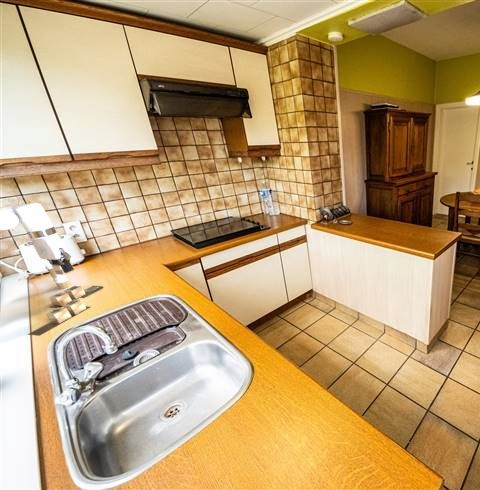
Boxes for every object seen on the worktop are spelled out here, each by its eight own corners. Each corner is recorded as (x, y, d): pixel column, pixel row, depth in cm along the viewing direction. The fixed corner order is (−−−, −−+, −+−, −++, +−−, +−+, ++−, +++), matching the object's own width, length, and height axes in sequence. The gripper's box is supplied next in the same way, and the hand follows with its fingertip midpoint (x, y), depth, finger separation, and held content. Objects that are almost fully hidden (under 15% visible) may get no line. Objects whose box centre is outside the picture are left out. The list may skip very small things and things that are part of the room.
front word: (40, 337, 101) (32, 326, 99) (28, 336, 102) (20, 325, 100) (92, 308, 117) (86, 298, 115) (81, 307, 118) (75, 297, 116)
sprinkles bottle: (56, 288, 135) (42, 265, 130) (68, 283, 139) (54, 261, 133) (61, 289, 133) (47, 266, 128) (73, 285, 137) (59, 262, 132)
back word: (60, 310, 117) (54, 299, 115) (49, 309, 118) (43, 299, 116) (103, 287, 133) (98, 278, 131) (94, 287, 134) (88, 278, 132)
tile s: (63, 274, 116) (58, 265, 114) (56, 274, 117) (51, 265, 115) (75, 270, 120) (70, 261, 118) (67, 269, 120) (62, 260, 118)
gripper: (15, 236, 109) (40, 274, 116) (46, 236, 106) (70, 276, 113) (39, 229, 115) (61, 266, 123) (69, 230, 112) (89, 267, 120)
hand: (65, 270), depth 118 cm, fingers closed on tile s, 4 cm apart
